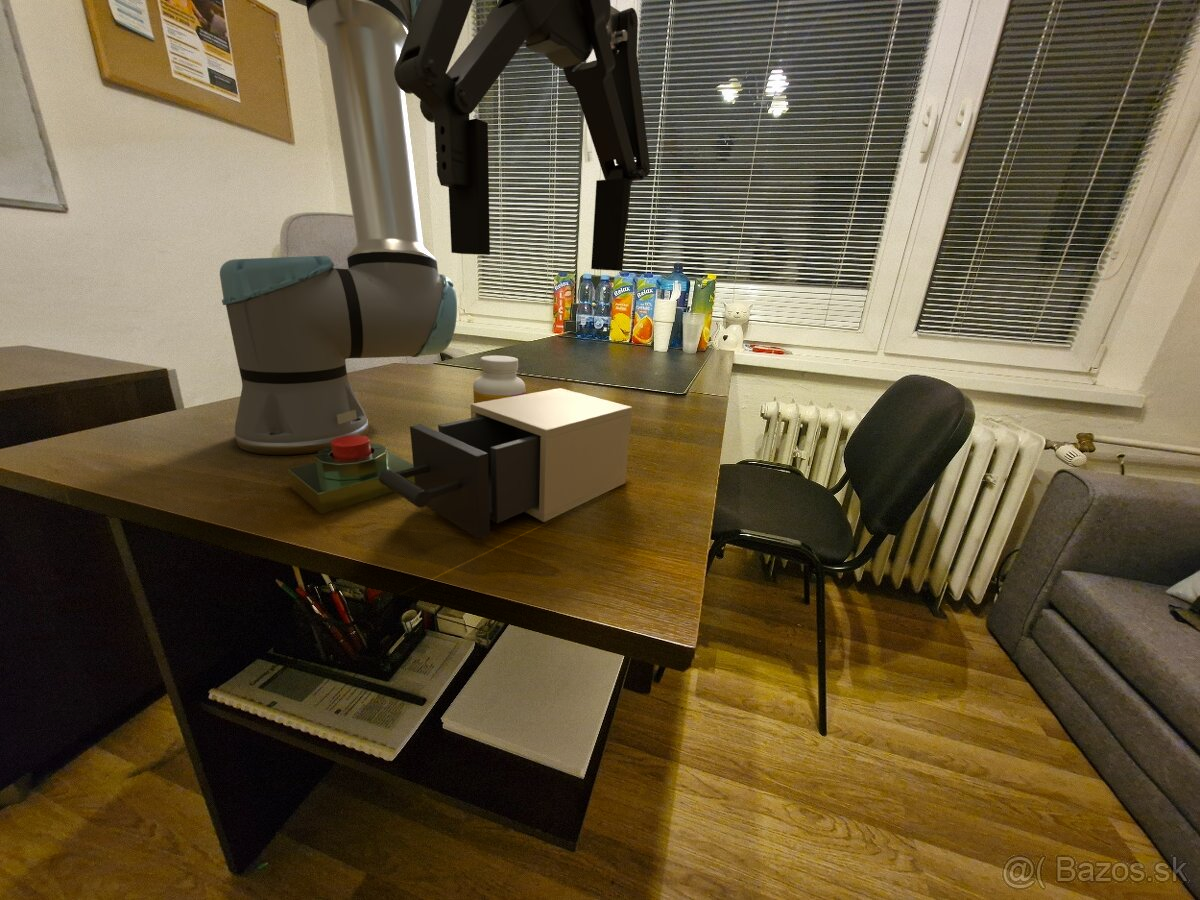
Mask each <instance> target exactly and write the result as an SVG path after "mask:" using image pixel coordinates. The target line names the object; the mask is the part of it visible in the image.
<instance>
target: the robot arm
mask: <svg viewBox="0 0 1200 900" xmlns="http://www.w3.org/2000/svg"><path fill="white" fill-rule="evenodd" d="M473 1H474V0H290V2H293V3H296V4H298V5H301V6H303V7H306V12H307V18H308V22H309V23H308V24H309V25H310V28H311V30H312V32H313V33H314V35H315V36H316V37H317V39H319V41H320V42H322V44H324V45H325V47H326V50H327V57H328V58H327V59H328V65H329V69H330V76H331V83H332V88H333V89H332V91H333V96H334V103H335V109H336V115H337V122H338V129H339V136H340V141H341V148H342V154H343V162H344V169H345V173H346V181H347V187H348V193H349V200H350V206H351V207H350V208H351V213H352V219H353V227H354V233H355V239H356V245H355V246H354V248H353V249H352V250H350V251H349V253H348V254H347V255H346V262H347V267H348V268H337V267H335V263H334V261H332V259H331V257H330V256H329V255H311V256H310V255H309V256H305V255H303V256H283V257H257V258H234V259H229V260H226V261H225V262H224V263H223V264H221V267H220V268H219V279H220V286H221V293H222V299H221V304H222V305H223V306H225V308H226V312H227V318H228V322H229V328H230V331H231V332H230V333H231V337H232V341H233V347H234V351H235V356H236V362H237V367H238V369H239V375H240V379H241V393H240V398H239V403H238V408H237V414H236V418H235V426H234V435H235V436H234V437H235V440H236V443H237V444H236V445H237V447H239V449H241V450H243V451H246V452H250V453H252V454H259V455H268V456H269V455H271V456H289V455H290V456H291V455H294V456H295V455H304V454H313V453H318V452H319V451H321V450H323V449H326V448H328V447H330V446H331V441H332V440H334V439H336V438H339V437H342V436H348V435H363V436H367V435H368V434H369V433H370V427H369V420H368V417H367V415H366V412H365V410H364V408H363V407H362V405H361V403H360V401H359V399H358V397H357V394H356V393H355V391H354V389H353V387H352V385H351V383H350V380H349V378H348V371H347V365H346V360H347V359H374V358H375V359H376V358H402V357H403V358H404V357H405V358H406V357H411V358H419V357H421V356H423V357H424V356H432V355H433V356H434V355H439V354H441V353H444V351H446V350H447V348H448V347H449V346H450V344H451V342H452V339H453V337H454V334H455V330H456V325H457V319H458V318H457V317H458V300H457V299H458V298H457V292H456V289H455V287H454V283H453V281H452V280H451V278H449V277H448V276H446V275H445V274H440V273H439V268H438V262H437V258H436V257H435V256H434V255H433V254H431V252H429V251H428V249H426V248H425V245H424V244H425V243H424V238H423V237H424V236H423V230H422V228H423V227H422V222H421V214H420V213H421V212H420V205H419V197H418V188H417V181H416V173H415V165H414V164H415V163H414V157H413V149H412V143H411V134H410V125H409V118H408V110H407V109H408V108H407V101H406V95H405V94H408V95H412V94H413V95H414V96H415V97H417V98H418V99H419V108H420V112H421V114H422V117H424V119H425V120H426V121H428V122H429V123H433V124H434V143H435V161H436V175H437V178H438V181H439V184H440V186H442V187H446V188H448V202H449V203H448V204H449V205H448V208H449V209H448V210H449V226H450V227H449V228H450V251H451V254H458V255H459V254H460V255H478V256H479V255H480V256H490V255H491V238H490V237H491V233H490V231H491V230H490V176H489V175H490V174H489V173H490V172H489V170H490V168H489V122H486V121H484V120H483V119H479V118H477V117H476V118H472V119H470V115H471V114H472V113H473V112H474V111H475V110H476V108H477V107H478V105H480V103H481V102H482V100H483V99H484V98H485V96H486V94H488V92H489V91H490V89H491V88H492V86H493V85H494V83H495V82H496V81H497V79H498V78H499V77H500V75H501V74H502V73H503V71H504V70H505V69H506V67H507V66H508V64H509V63H510V62H511V61H512V59H513V57H514V56H516V54H517V52H518V51H519V50H520V48H521V47H522V45H524V43H525V48H526V49H528V50H530V51H531V52H533V53H535V54H539V55H540V54H541V55H544V56H545V57H546V58H547V60H549V62H551V64H552V65H554V66H556V67H557V68H558V69H562V71H563V73H564V76H565V79H566V81H567V83H568V84H569V86H570V87H572V88H574V89H575V91H576V94H577V98H578V101H579V104H580V108H581V111H582V114H583V117H584V119H585V122H586V126H587V128H588V131H589V132H588V133H589V135H590V138H591V141H592V144H593V147H594V151H595V154H596V156H597V160H598V162H599V165H600V168H601V172H602V175H603V179H597V180H596V181H595V195H594V212H593V213H594V214H593V217H594V218H593V230H592V231H593V234H592V250H591V266H590V269H591V270H597V271H613V272H615V271H616V272H623V268H624V257H625V256H624V254H625V246H626V245H625V244H626V232H627V225H628V222H629V212H630V201H631V190H632V189H631V188H632V185H633V182H638V181H643V180H645V178H646V177H648V176H649V174H650V173H651V164H650V154H649V146H648V145H649V144H648V137H647V128H646V119H645V112H644V103H643V94H642V86H641V77H640V69H639V68H640V67H639V61H638V33H639V29H638V28H639V25H638V24H639V17H638V13H637V11H636V10H635V8H634V7H629V8H627V9H623V10H621V11H620V10H618V9H617V8H615V7H613V6H612V5H611V0H498V1H497V3H496V4H495V5H494V6H493V8H492V9H491V10H490V12H489V13H488V14H487V16H486V17H485V19H486V22H485V23H484V24H483V25H482V27H481V28H480V29H479V30H478V32H477V33H476V34H475V36H474V37H473V39H472V40H471V41H470V43H469V44H468V45H467V46H466V48H465V49H464V50H463V51H462V52H461V54H460V55H459V57H458V58H457V59H456V60H455V62H453V64H452V65H451V67H450V63H451V61H452V59H453V55H454V53H455V50H456V47H457V44H458V42H459V40H460V36H461V34H462V31H463V28H464V26H465V23H466V20H467V18H468V15H469V12H470V9H471V7H472V3H473ZM592 52H593V53H594V56H595V59H596V60H592V61H587V60H588V59H589V58H590V56H591V54H592ZM586 61H587V62H586ZM584 62H585V63H584ZM449 67H450V68H449ZM448 69H449V70H448Z"/></svg>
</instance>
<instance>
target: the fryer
mask: <svg viewBox="0 0 1200 900" xmlns="http://www.w3.org/2000/svg"><path fill="white" fill-rule="evenodd" d="M632 415H633V406H630V405H626V404H622V403H618V402H616V401H615V402H614V401H611V400H607V399H604V398H599V397H595V396H592V395H587V394H584V393H580V392H576V391H573V390H568V389H565V388H561V387H558V388H553V389H546V390H542V391H536V392H530V393H525V394H524V395H518V396H513V397H507V398H502V399H496V400H490V401H485V402H479V403H474V402H473V403H470V418H475V417H479V416H486V417H489V418H492V419H495V420H498V421H500V422H503V423H506V424H509V425H511V426H514V427H517V428H520V429H522V430H525V431H528V432H531V433H533V434H536V435H539V436H541V439H540V490H539V505H538V506H536V507H534V508H532V509H529V510H527V511H525V512H524V513H526V514H527V515H529V516H532V517H533V518H535V519H537V520H539V521H541V522H543V523H546V522H548V521H549V520H551V519H553V518H556V517H558V516H560V515H562V514H565V513H566V512H569V511H570V510H573V509H574V508H576V507H578V506H581V505H583V504H585V503H587V502H589V501H591V500H593V499H595V498H597V497H599V496H601V495H603V494H605V493H608V492H609V491H612V490H614V489H616V488H619V487H620V486H622V485H624V484H626V480H627V479H626V478H627V467H628V458H629V447H630V445H629V444H630V435H631V425H632Z"/></svg>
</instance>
